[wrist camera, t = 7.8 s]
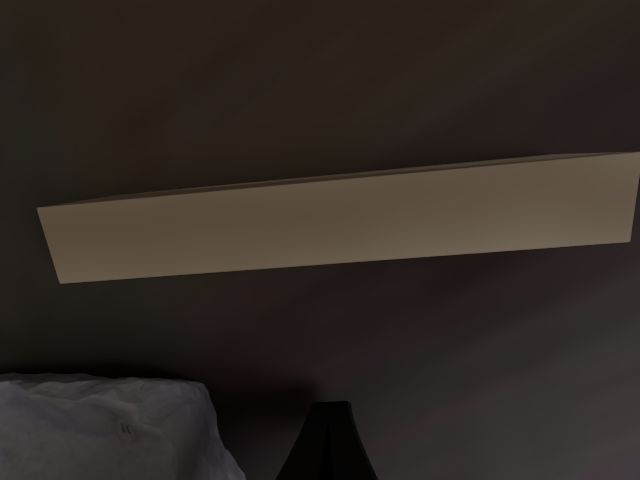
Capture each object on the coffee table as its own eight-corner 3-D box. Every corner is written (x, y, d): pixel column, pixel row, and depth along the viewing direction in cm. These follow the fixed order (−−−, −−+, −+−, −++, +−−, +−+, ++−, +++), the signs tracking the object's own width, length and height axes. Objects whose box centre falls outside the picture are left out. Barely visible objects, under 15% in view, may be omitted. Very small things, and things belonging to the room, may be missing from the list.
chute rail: (546, 218, 10) (630, 242, 7) (131, 251, 11) (59, 283, 8) (551, 154, 10) (643, 151, 7) (117, 195, 11) (36, 207, 8)
